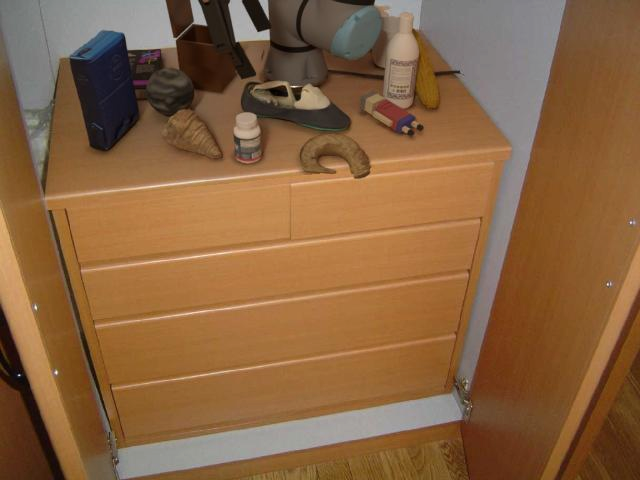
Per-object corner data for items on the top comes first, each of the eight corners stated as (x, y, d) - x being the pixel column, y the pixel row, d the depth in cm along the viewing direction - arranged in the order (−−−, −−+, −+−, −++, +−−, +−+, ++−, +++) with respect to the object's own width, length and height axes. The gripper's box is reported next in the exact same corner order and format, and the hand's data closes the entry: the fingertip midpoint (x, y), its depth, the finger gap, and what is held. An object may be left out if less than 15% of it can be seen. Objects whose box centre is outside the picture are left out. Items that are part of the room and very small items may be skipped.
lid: (185, -27, 144) (181, -27, 144) (166, -11, 137) (162, -12, 137) (194, 21, 151) (191, 21, 151) (176, 38, 144) (173, 38, 144)
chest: (236, 74, 157) (233, 29, 149) (221, 93, 150) (217, 46, 142) (197, 68, 158) (192, 23, 151) (181, 86, 152) (175, 40, 144)
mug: (367, 54, 166) (370, 15, 159) (403, 54, 166) (407, 15, 160) (372, 78, 156) (376, 38, 150) (410, 78, 157) (415, 38, 150)
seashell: (216, 174, 133) (236, 142, 135) (213, 160, 125) (234, 126, 127) (157, 142, 134) (178, 110, 136) (150, 126, 126) (172, 92, 128)
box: (159, 101, 147) (163, 60, 162) (157, 86, 145) (161, 46, 159) (95, 103, 146) (104, 61, 160) (91, 88, 143) (101, 47, 158)
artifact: (313, 124, 133) (384, 141, 129) (314, 136, 136) (383, 153, 132) (289, 161, 127) (363, 180, 122) (291, 173, 129) (363, 193, 125)
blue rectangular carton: (109, 155, 130) (88, 59, 117) (85, 150, 131) (61, 55, 118) (143, 119, 141) (127, 28, 128) (120, 115, 142) (102, 24, 129)
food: (396, 44, 155) (389, 30, 150) (418, 32, 154) (412, 18, 149) (427, 117, 148) (420, 105, 142) (450, 106, 146) (445, 94, 141)
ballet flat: (343, 139, 136) (345, 104, 130) (234, 119, 141) (231, 84, 136) (354, 119, 142) (356, 85, 136) (249, 100, 147) (247, 66, 142)
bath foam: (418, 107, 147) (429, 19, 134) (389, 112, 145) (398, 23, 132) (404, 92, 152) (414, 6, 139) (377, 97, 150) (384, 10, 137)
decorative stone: (196, 123, 140) (191, 80, 133) (148, 126, 138) (141, 82, 132) (196, 100, 147) (192, 58, 141) (150, 102, 146) (144, 60, 139)
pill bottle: (235, 149, 132) (232, 110, 127) (261, 148, 133) (259, 109, 127) (235, 164, 129) (231, 124, 123) (262, 163, 129) (260, 124, 123)
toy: (424, 135, 140) (373, 103, 147) (428, 118, 137) (376, 86, 144) (405, 145, 137) (354, 112, 144) (409, 128, 134) (356, 96, 141)
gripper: (196, -92, 110) (252, 16, 125) (151, -10, 95) (221, 102, 110) (236, -107, 108) (288, 6, 122) (196, -24, 92) (261, 93, 107)
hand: (257, 52), depth 116 cm, fingers open, 13 cm apart
